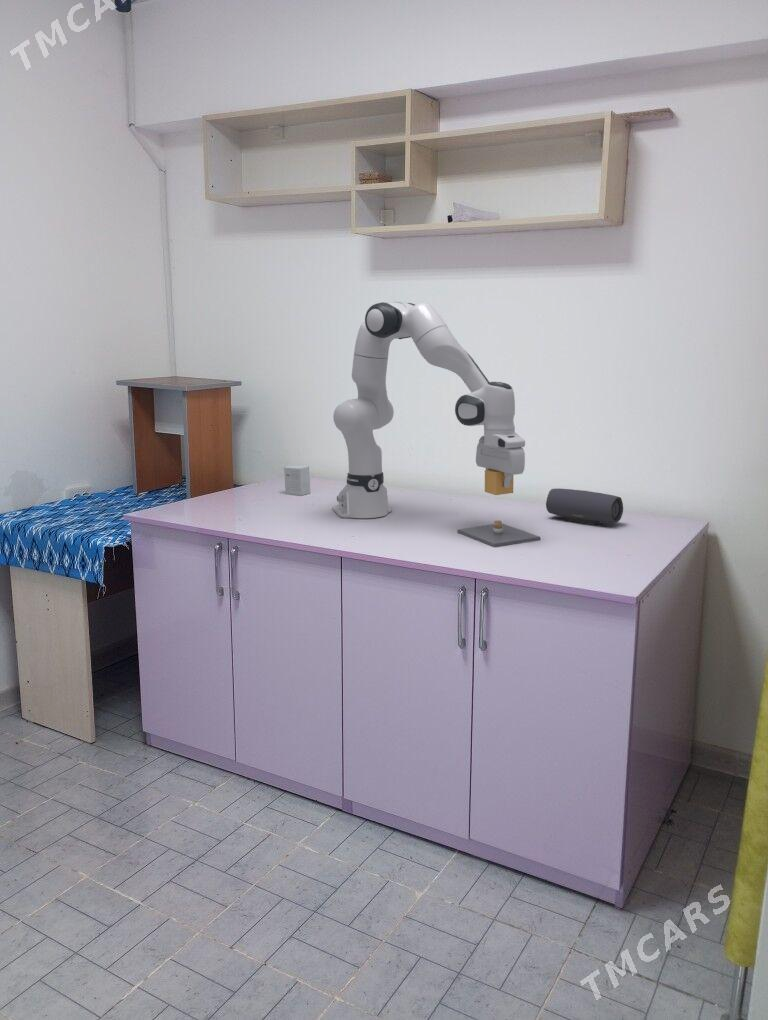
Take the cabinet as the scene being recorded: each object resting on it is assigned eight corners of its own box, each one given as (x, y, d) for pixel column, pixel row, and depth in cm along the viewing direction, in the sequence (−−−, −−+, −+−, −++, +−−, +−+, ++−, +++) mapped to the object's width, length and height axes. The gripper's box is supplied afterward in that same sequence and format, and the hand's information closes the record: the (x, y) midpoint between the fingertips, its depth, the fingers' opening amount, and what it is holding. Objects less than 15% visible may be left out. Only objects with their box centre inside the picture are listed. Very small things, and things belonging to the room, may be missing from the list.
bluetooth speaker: (623, 524, 260) (625, 492, 258) (609, 529, 253) (611, 497, 251) (559, 514, 275) (560, 484, 273) (544, 519, 268) (545, 489, 266)
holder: (457, 532, 253) (457, 518, 252) (501, 526, 260) (501, 512, 259) (494, 547, 235) (494, 531, 234) (540, 540, 242) (540, 525, 241)
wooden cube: (484, 491, 246) (484, 470, 244) (501, 489, 248) (501, 468, 247) (496, 495, 241) (496, 473, 239) (513, 492, 243) (513, 471, 242)
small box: (310, 493, 317) (309, 466, 315) (301, 496, 312) (300, 468, 310) (294, 491, 321) (293, 464, 319) (285, 494, 316) (283, 466, 314)
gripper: (470, 435, 249) (470, 481, 252) (510, 443, 231) (510, 492, 234) (488, 434, 252) (488, 479, 255) (529, 441, 234) (528, 489, 237)
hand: (498, 485), depth 244 cm, fingers closed on wooden cube, 6 cm apart
